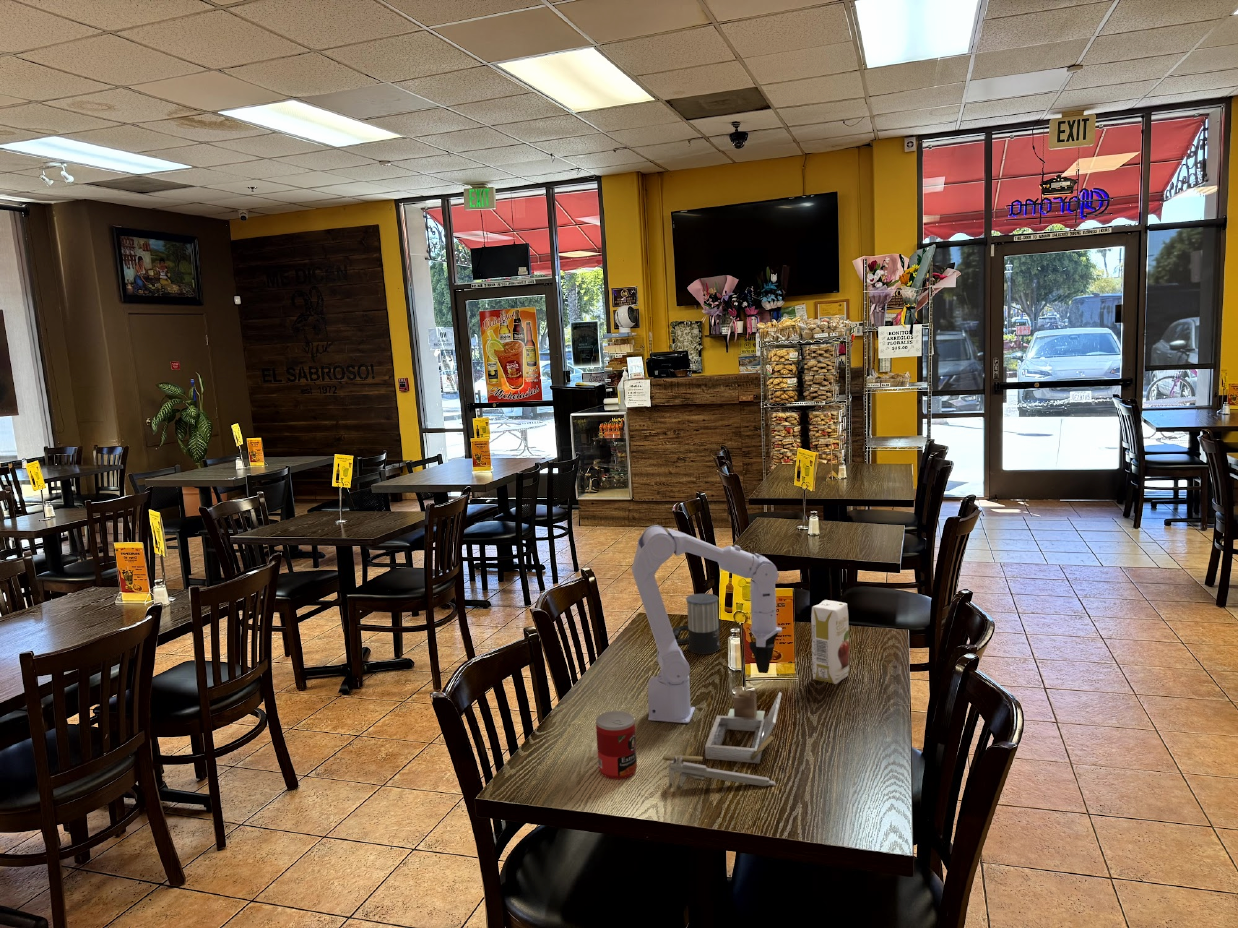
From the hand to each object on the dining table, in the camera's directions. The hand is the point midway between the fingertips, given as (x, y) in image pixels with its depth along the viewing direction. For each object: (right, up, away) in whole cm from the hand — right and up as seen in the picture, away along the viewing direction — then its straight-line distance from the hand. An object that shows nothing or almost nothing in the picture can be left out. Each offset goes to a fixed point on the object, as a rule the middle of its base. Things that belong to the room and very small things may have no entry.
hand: (765, 666), depth 193 cm
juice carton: (+19, -7, +16) cm, 26 cm away
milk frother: (-12, -5, +44) cm, 46 cm away
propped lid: (-3, -12, -19) cm, 22 cm away
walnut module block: (-5, -11, -4) cm, 13 cm away
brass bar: (-21, -14, -21) cm, 33 cm away
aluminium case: (-9, -13, -16) cm, 22 cm away
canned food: (-34, -15, -25) cm, 45 cm away
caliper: (-14, -15, -32) cm, 39 cm away
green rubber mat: (-5, -11, -4) cm, 13 cm away
